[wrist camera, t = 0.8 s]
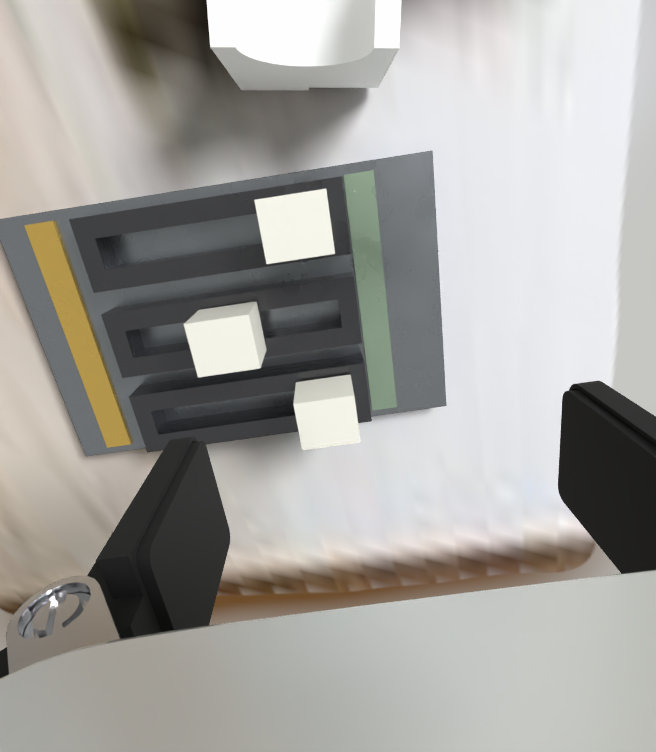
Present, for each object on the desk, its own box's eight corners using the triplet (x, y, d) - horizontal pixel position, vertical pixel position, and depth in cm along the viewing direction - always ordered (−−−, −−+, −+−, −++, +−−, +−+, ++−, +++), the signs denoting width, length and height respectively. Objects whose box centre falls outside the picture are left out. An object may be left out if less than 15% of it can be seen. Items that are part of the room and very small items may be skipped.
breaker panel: (6, 219, 26) (-32, 222, 23) (427, 152, 25) (440, 147, 22) (94, 446, 31) (72, 471, 28) (441, 398, 30) (453, 418, 28)
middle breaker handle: (206, 302, 26) (183, 324, 22) (260, 294, 26) (248, 314, 22) (217, 348, 27) (198, 377, 23) (269, 340, 27) (260, 368, 23)
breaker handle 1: (265, 199, 24) (254, 199, 20) (324, 190, 24) (326, 188, 20) (275, 252, 25) (266, 264, 21) (332, 243, 25) (335, 253, 21)
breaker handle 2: (297, 371, 28) (293, 404, 24) (348, 363, 28) (354, 395, 23) (304, 411, 29) (302, 450, 25) (354, 404, 29) (360, 442, 24)
